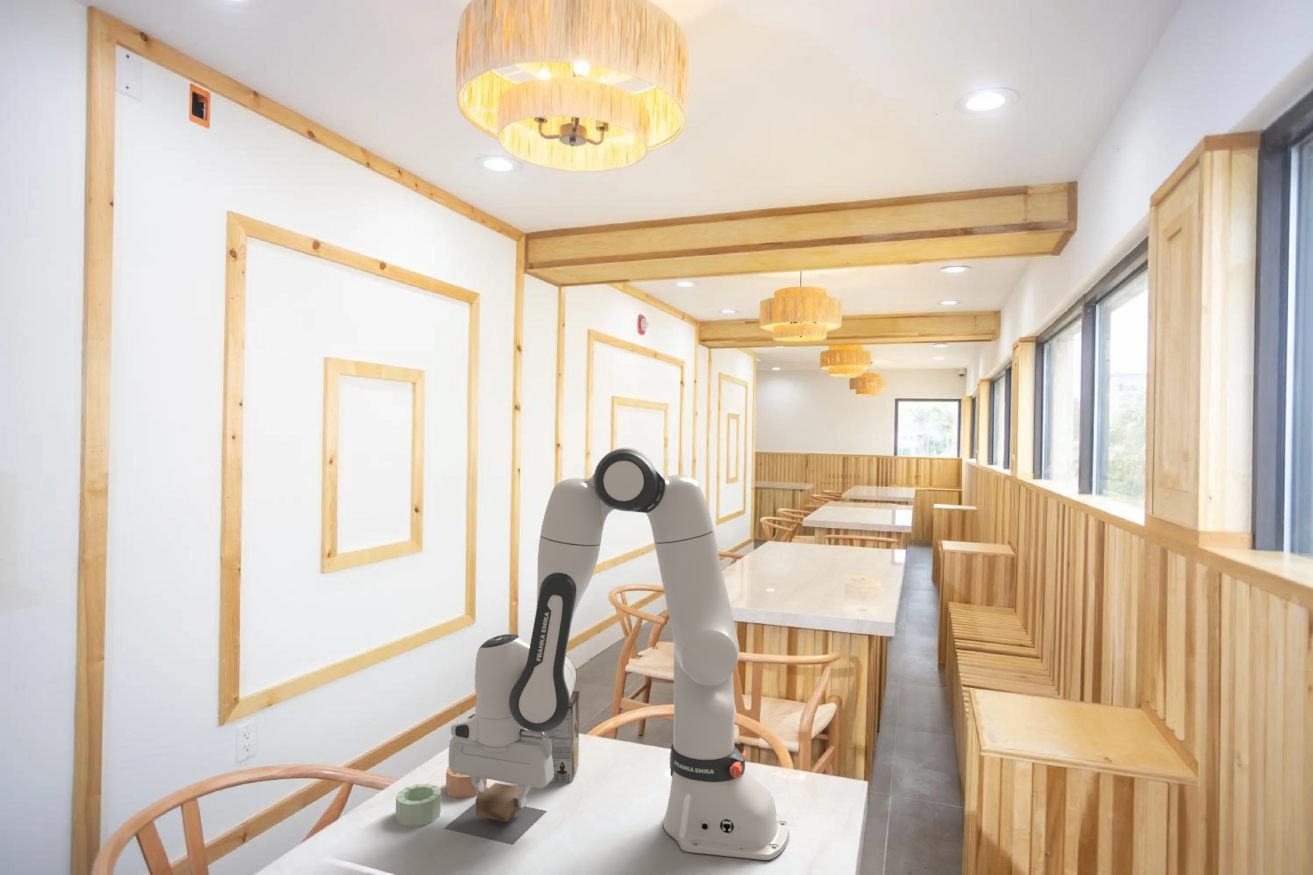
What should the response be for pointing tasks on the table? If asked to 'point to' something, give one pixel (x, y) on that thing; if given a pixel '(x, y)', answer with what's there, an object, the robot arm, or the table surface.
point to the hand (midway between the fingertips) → (501, 802)
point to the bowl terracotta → (460, 785)
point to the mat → (496, 824)
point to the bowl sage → (418, 805)
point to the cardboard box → (498, 802)
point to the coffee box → (566, 743)
